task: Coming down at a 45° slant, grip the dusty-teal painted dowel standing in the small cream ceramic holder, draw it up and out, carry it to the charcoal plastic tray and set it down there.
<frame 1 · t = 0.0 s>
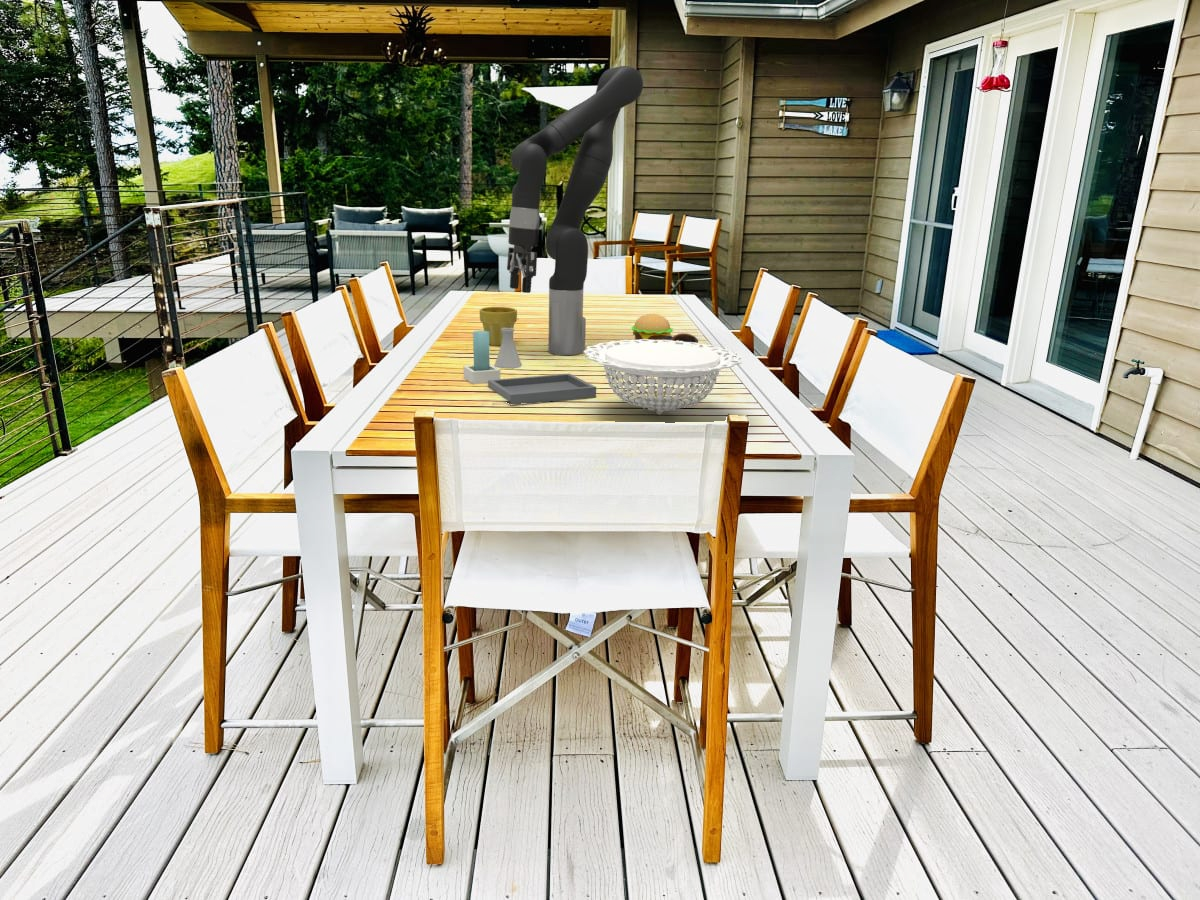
hand: (519, 290, 222), 17 cm above the table, tool pointing down, fingers open, 8 cm apart
tray: (541, 393, 189), on the table
dowel: (481, 379, 196), point 1 cm above the table, touching holder
colander: (658, 415, 175), on the table
plant pot: (498, 344, 242), on the table
flask: (507, 369, 212), on the table
hamburger: (651, 344, 248), on the table
holder: (481, 382, 196), on the table
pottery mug: (679, 361, 228), on the table
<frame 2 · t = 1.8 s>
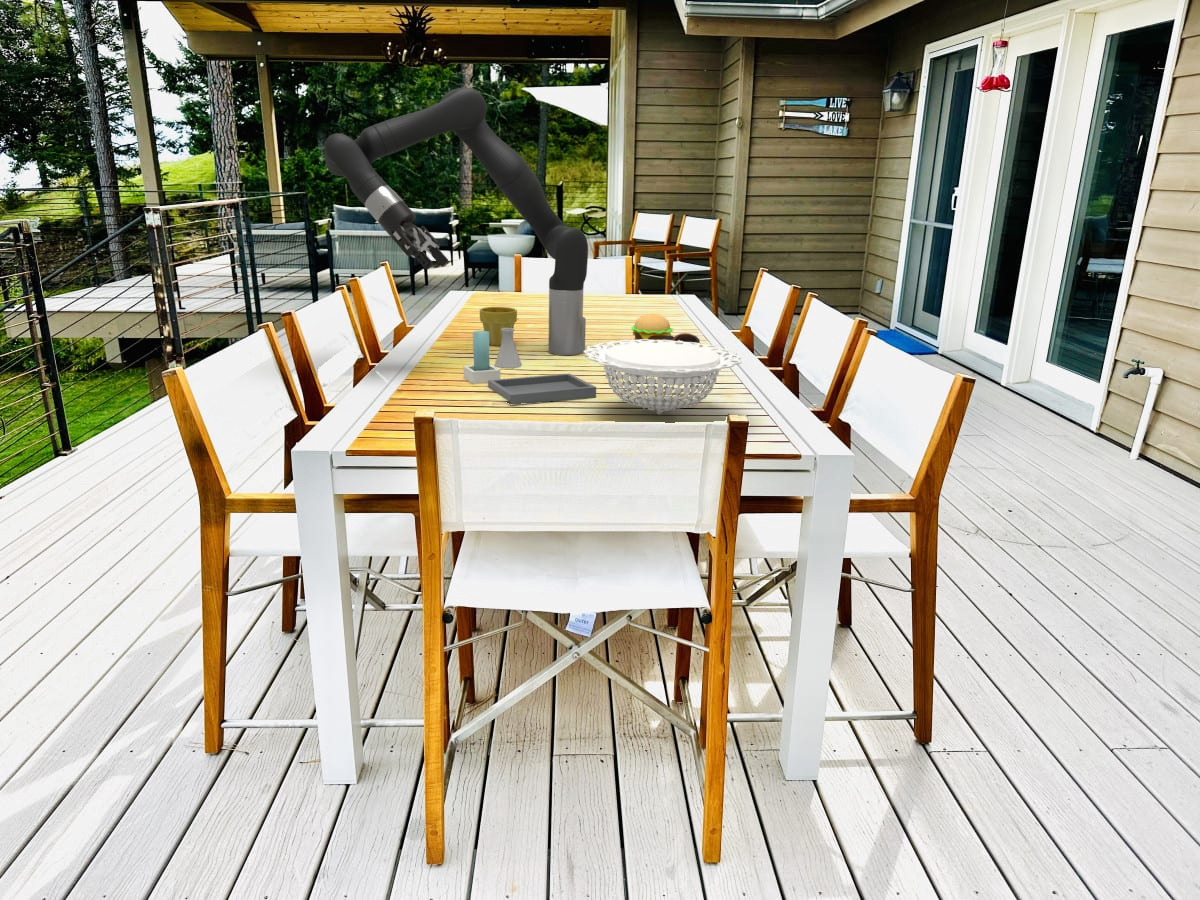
hand: (437, 265, 195), 26 cm above the table, tool tilted 45°, fingers open, 8 cm apart
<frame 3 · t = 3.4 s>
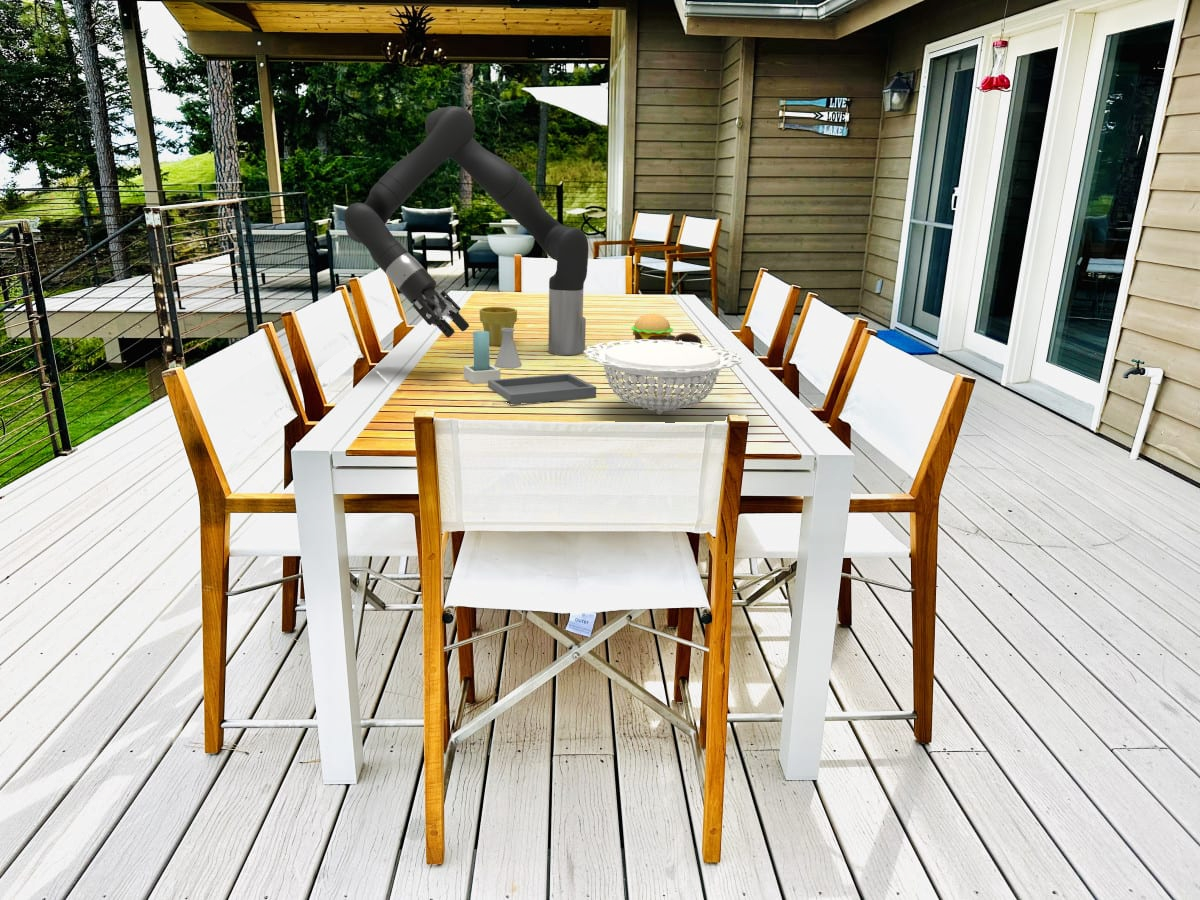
hand: (459, 331, 194), 11 cm above the table, tool tilted 45°, fingers open, 8 cm apart
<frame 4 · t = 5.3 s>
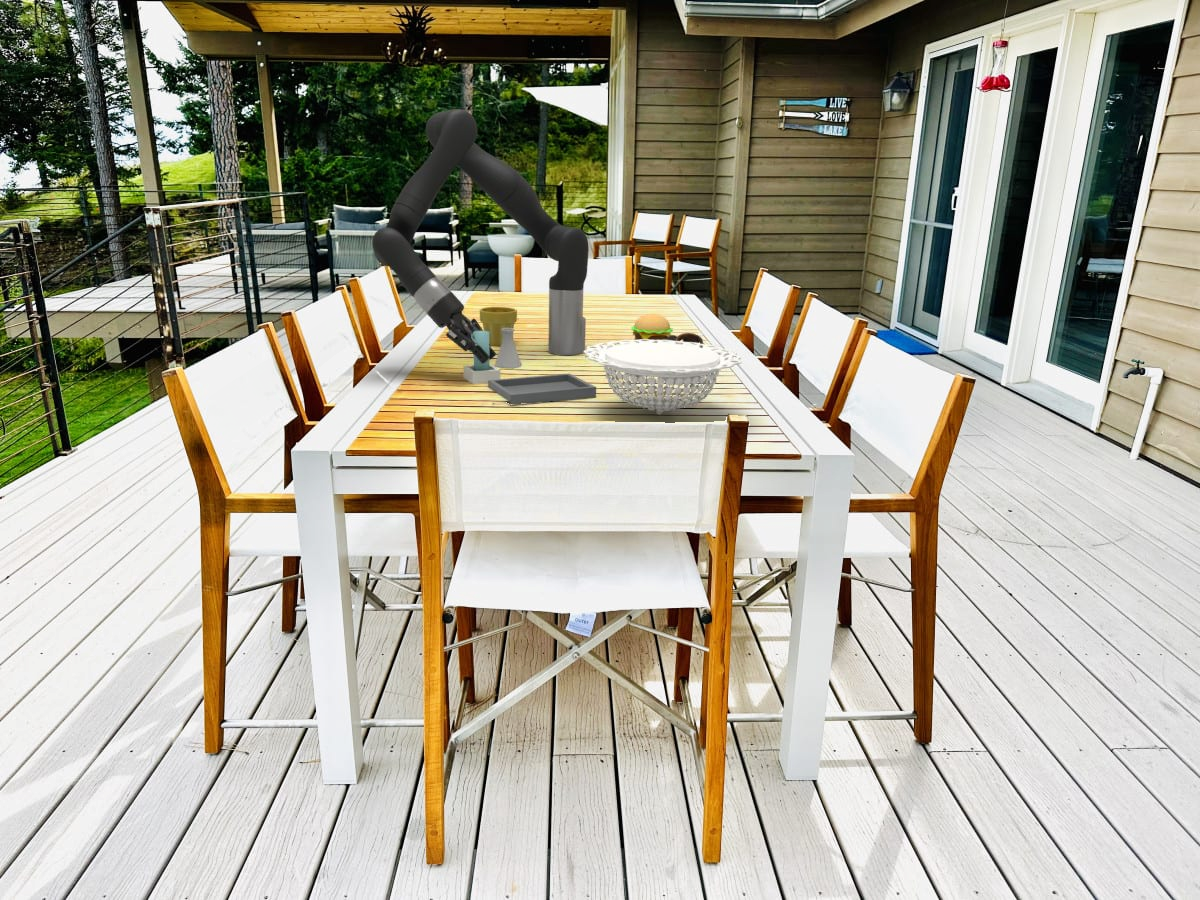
hand: (489, 358, 194), 6 cm above the table, tool tilted 45°, fingers closed on dowel, 3 cm apart
dowel: (481, 379, 196), point 1 cm above the table, touching gripper, holder
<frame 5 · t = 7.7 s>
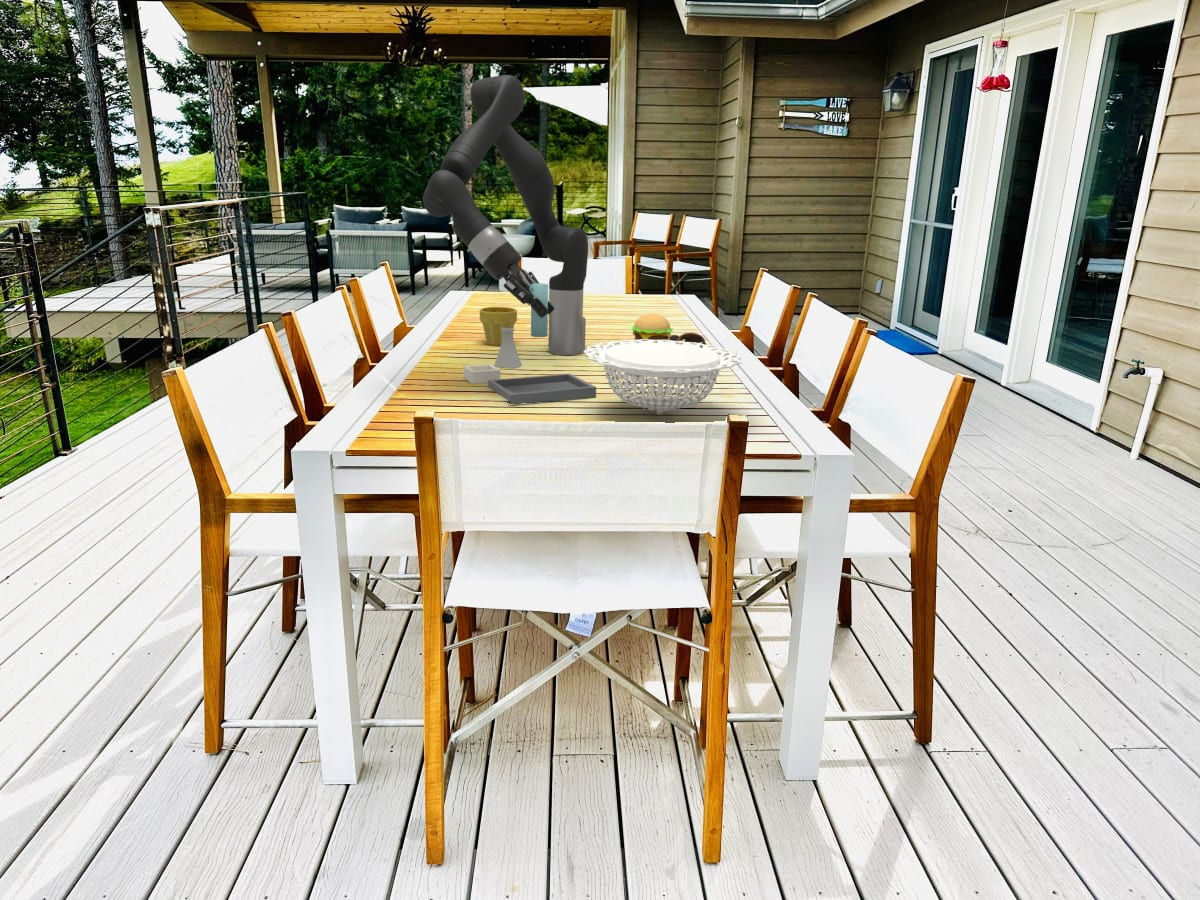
hand: (548, 313, 183), 18 cm above the table, tool tilted 45°, fingers closed on dowel, 3 cm apart
dowel: (539, 335, 185), point 13 cm above the table, touching gripper
when the fingers open (7 cm above the table, at t = 10.2 s): dowel stays where it is, resting on tray.
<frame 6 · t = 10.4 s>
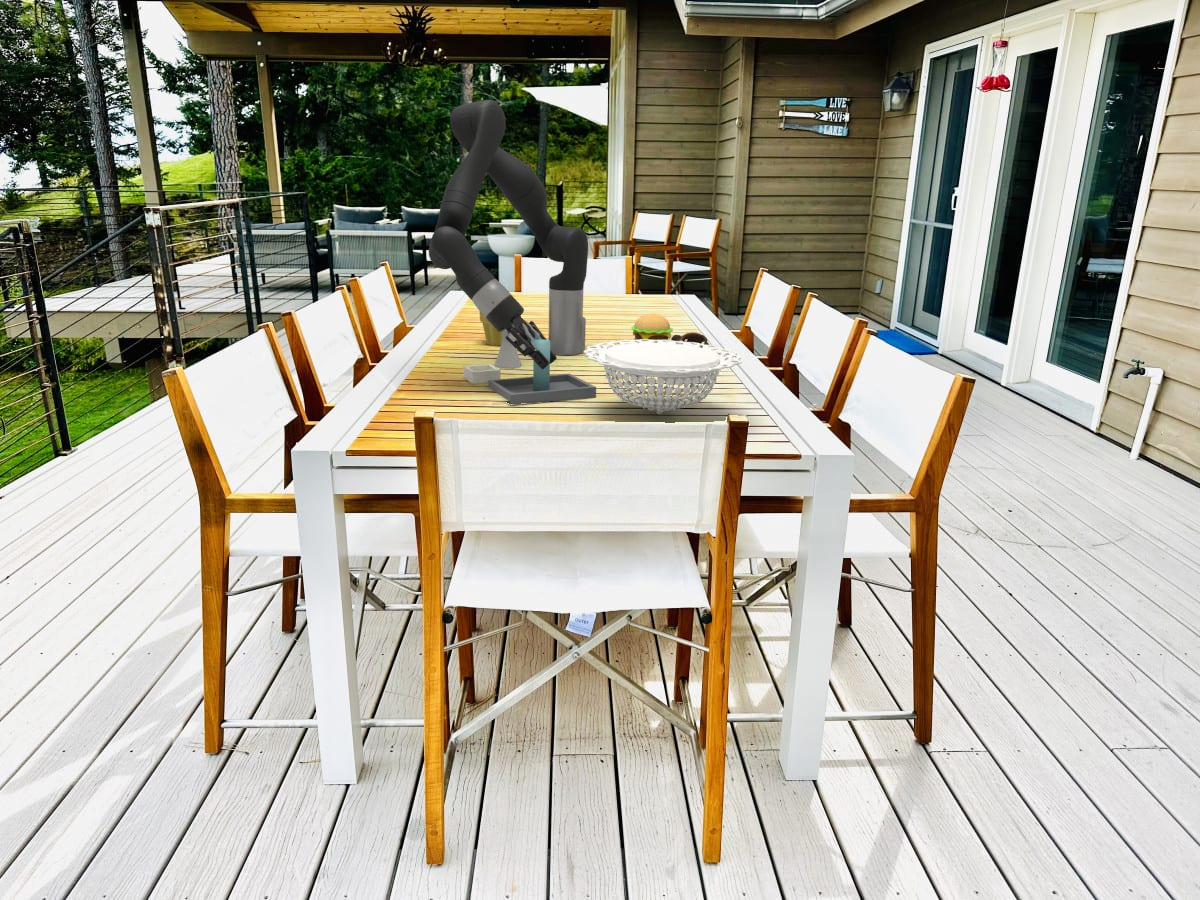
hand: (549, 363, 186), 7 cm above the table, tool tilted 45°, fingers open, 5 cm apart
dowel: (541, 390, 188), point 1 cm above the table, touching tray
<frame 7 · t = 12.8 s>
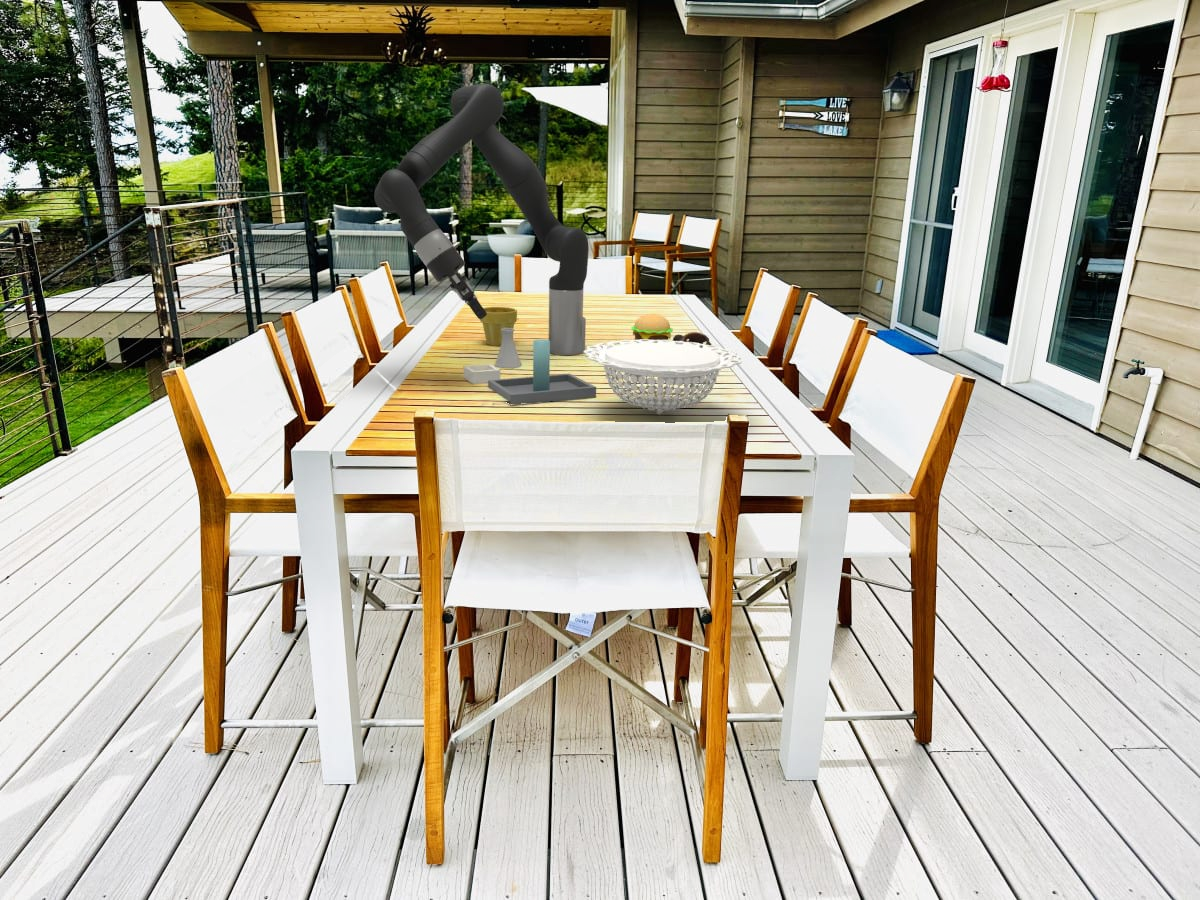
hand: (483, 316, 189), 16 cm above the table, tool tilted 35°, fingers open, 8 cm apart
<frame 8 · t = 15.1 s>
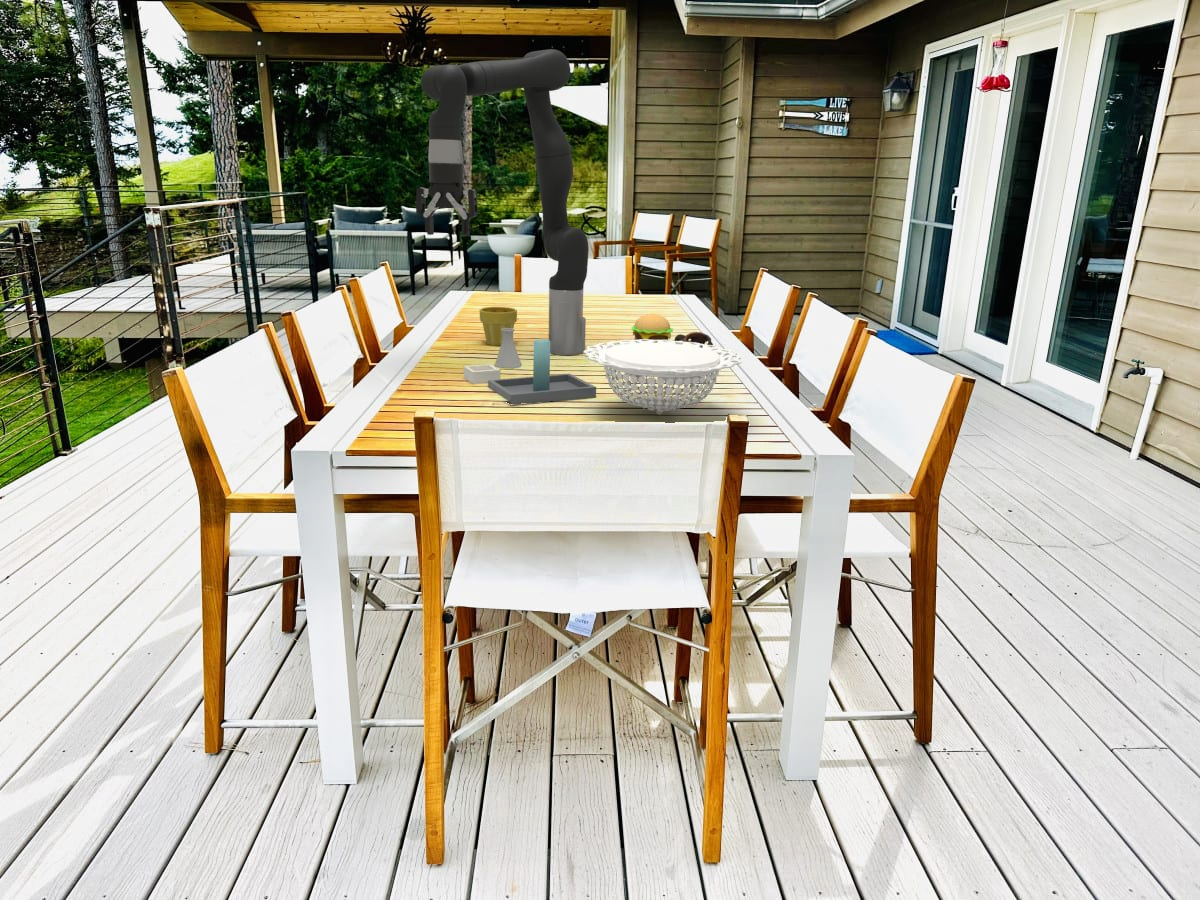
hand: (447, 235, 197), 32 cm above the table, tool pointing down, fingers open, 8 cm apart
at the end: dowel inside the target area on the tray (0.1 cm from its centre), point 0.8 cm above the tray's base; the gripper is holding nothing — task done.
